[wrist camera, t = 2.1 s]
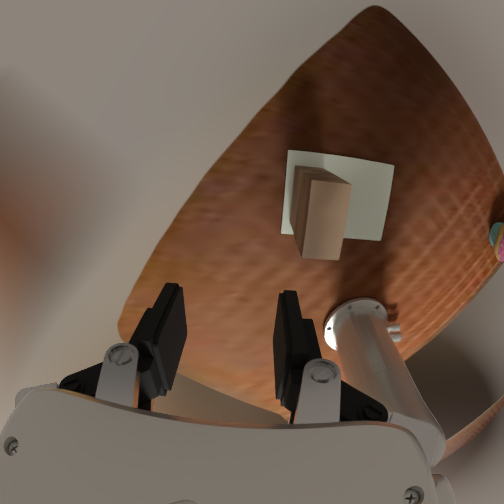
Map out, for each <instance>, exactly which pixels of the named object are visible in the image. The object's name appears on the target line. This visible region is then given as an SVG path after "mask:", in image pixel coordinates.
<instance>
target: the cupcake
mask: <svg viewBox="0 0 504 504" xmlns="http://www.w3.org/2000/svg"><path fill="white" fill-rule="evenodd" d="M489 240H490V242H491V244H492V245H493V247H494V252H495V255H496V257H497V259H498V260H500V261H502V262H504V223H499V222H497V223H495V224H494V225H493V226H492V228H491V230H490V233H489Z"/></svg>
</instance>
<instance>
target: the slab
mask: <svg viewBox="0 0 504 504" xmlns="http://www.w3.org/2000/svg"><path fill="white" fill-rule="evenodd" d="M351 187H352V184H350V183H348V182H347V181H345V180H343V179H342V178H340V177H338V176H336V175H335V174H333V173H331V172H329V171H328V170H326V169H324V168H318V167H309V166H299V165H295V167H294V178H293V189H292V199H291V209H290V219H289V221H290V224H291V227H292V230H293V233H294V236H295V239H296V242H297V245H298V248H299V251H300V254H301V257H302V258H306V259H325V260H339V257H340V252H341V247H342V242H343V237H344V231H345V226H346V220H347V214H348V208H349V201H350V194H351Z"/></svg>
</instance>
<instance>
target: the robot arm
mask: <svg viewBox="0 0 504 504" xmlns="http://www.w3.org/2000/svg"><path fill="white" fill-rule="evenodd" d="M387 317H388V316H387V312H386V310H385V308H384V306H383V305H382V304H381V303H380V302H379V301H378V300H375V299H373V298H368V297H361V298H355V299H352V300H349V301H347V302H345V303H343V304H341V305H340V306H338V307H337V308H336V309H335V310H334V311H333V312H332V313H331V314H330V315H329V316H328V318H327V320H326V322H325V325H324V330H323V333H324V337H325V341H326V342H327V344H328V345H329V346H330V347H331V348H333V349H335V350H337V352H338V355H339V358H340V362H341V365H342V368H343V372H344V375H345V379H346V382H347V383H346V382H344V381H342V380H341V372H340V369H339V367H338V366H337V365H336V364H335V363H334V362H332V361H330V360H327V359H322V356H321V352H320V348H319V344H318V340H317V336H316V331H315V327H314V324H313V320H312V319H302V316H301V311H300V306H299V301H298V297H297V292H296V291H291V290H284V292H283V293H279V298H278V305H277V313H276V320H275V328H274V335H273V353H274V371H275V390H276V399H280V400H281V406H284V407H285V408H287V409H288V410H289V411H291V412H290V417H289V422H288V424H249V423H233V422H219V421H210V420H201V419H193V418H186V417H179V416H174V415H168V414H162V413H157V412H154V398H155V397H157V396H159V395H161V396H166V393H167V390H171V388H172V385H173V381H174V378H175V375H176V371H177V368H178V364H179V361H180V358H181V354H182V351H183V348H184V344H185V341H186V338H187V325H186V316H185V307H184V297H183V288H182V287H179V285H178V283H166V284H165V285H164V287H163V289H162V291H161V293H160V295H159V296H158V298H157V300H156V302H155V304H154V306H153V308H147V310H146V311H145V313H144V315H143V317H142V318H141V320H140V322H139V324H138V326H137V328H136V330H135V332H134V333H133V335H132V337H131V339H130V341H129V343H118V344H115V345H113V346H111V347H110V348H109V349H108V350H107V351H106V354H105V357H104V361H103V362H102V363H99V364H97V365H94V366H92V367H89V368H87V369H84V370H81V371H79V372H77V373H74V374H71V375H69V376H67V377H65V378H64V379H63V380H62V381H61V383H60V384H59V385H58V384H57V383H56V382H55V383H50V384H45V385H40V386H36V387H30V388H25V389H22V390H20V391H19V392H18V394H17V395H16V398H15V409H14V410H13V412H12V413H11V415H10V417H9V419H8V420H7V422H6V424H5V426H4V428H3V430H2V432H1V434H0V504H457V502H456V499H455V496H454V493H453V490H452V487H451V485H450V483H449V481H448V480H447V479H446V477H445V476H443V475H442V474H437V473H435V474H431V470H430V469H431V468H432V467H433V466H435V465H436V464H437V463H438V462H439V461H440V459H441V458H442V456H443V454H444V452H445V448H446V440H445V436H444V434H443V431H442V429H441V427H440V426H439V424H438V422H437V421H436V419H435V418H434V416H433V415H432V414H431V412H430V410H429V409H428V407H427V406H426V404H425V402H424V401H423V399H422V398H421V395H420V394H419V392H418V390H417V388H416V386H415V384H414V382H413V380H412V378H411V376H410V373H409V371H408V370H407V367H406V365H405V363H404V361H403V359H402V357H401V355H400V353H399V351H398V349H397V347H396V346H395V344H394V342H399V341H400V340H401V338H402V336H401V333H400V332H392V333H389V332H390V331H399V330H400V324H390V323H388V321H387Z"/></svg>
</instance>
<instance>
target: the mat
mask: <svg viewBox="0 0 504 504" xmlns="http://www.w3.org/2000/svg"><path fill="white" fill-rule="evenodd" d="M295 165H299V166H309V167H318V168H324V169H326V170H328V171H329V172H331V173H333V174H335V175H336V176H338V177H340V178H342V179H343V180H345V181H347V182H348V183H350V184H352V187H351V194H350V201H349V208H348V214H347V220H346V226H345V231H344V237H343V238H351V239H364V240H376V241H381V237H382V232H383V228H384V223H385V218H386V213H387V208H388V203H389V197H390V192H391V185H392V179H393V172H394V165H390V164H385V163H380V162H374V161H369V160H363V159H357V158H351V157H345V156H338V155H331V154H323V153H315V152H306V151H296V150H288V156H287V169H286V181H285V193H284V204H283V215H282V225H281V234H294V233H293V230H292V227H291V224H290V221H289V219H290V209H291V199H292V189H293V178H294V167H295Z"/></svg>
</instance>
